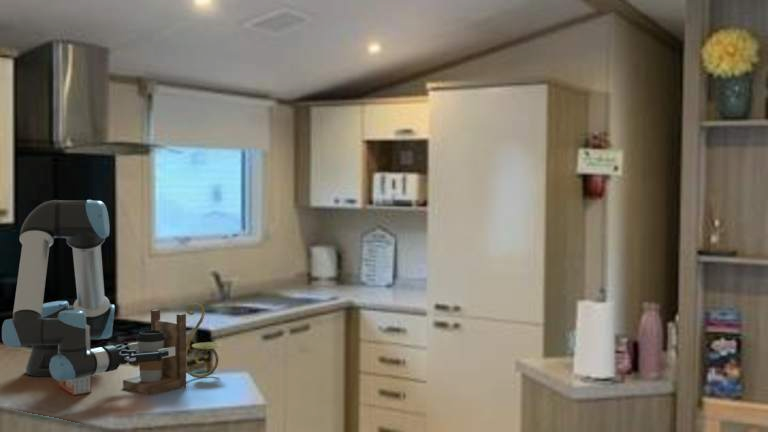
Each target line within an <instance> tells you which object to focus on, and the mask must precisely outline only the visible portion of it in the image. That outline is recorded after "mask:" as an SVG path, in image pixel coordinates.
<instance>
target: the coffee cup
mask: <svg viewBox="0 0 768 432" xmlns="http://www.w3.org/2000/svg"><path fill="white" fill-rule="evenodd" d="M136 339H137V343H138V352H142V351H157V350H159V349H163V348H164V340H165V338H164V335H163V331H158V330H151V329H150V330H142V331H139V333H138V335H137V338H136ZM138 367H139V376H140V379H141V381H142V382H157V381H160V380H161V377H162V367H163V358H162V361H160V362H158V361H151V362H141V363H138Z"/></svg>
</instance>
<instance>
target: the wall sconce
mask: <svg viewBox="0 0 768 432" xmlns="http://www.w3.org/2000/svg"><path fill="white" fill-rule="evenodd" d="M195 306H197V307H199V308H200V310H201V316H200V318H199V320H198V322H197V324H196V325H195V326H194V328H193V330H192V331H191V333H190V334H189V337H188V339H187V340H186V374H188V375H190V376H191V377H193V378H198V379H202V378H206V377H208V376H210V375H211V374H213V373H214V372H215V371H216V369H217V367H218V365H219V355H218V353H217V351H216V349H217V348H220V347H221V346H222V344H221V343H219V342H215V341H214V342H213V341H206V342H197V343H193V344H191V347H192V348H193V349H197V351H196V353H195V355H194V361H195V363H196V364H197V365H198V364H200V365H201V364H203V363H205V360H206V359H209V356H210V354H208V352H212V353H213V354H214V357H215V363H214V366H213V367H212V368H211V370H210V371H208V372H207V373H203V374H195V373H193V372H191V371H190V369H189V366H188V363H187V361H189V359H190V358H189V356H188V350H189V347H190V343H191V341H192V338H193V337H194V335H195V333H196V332H197V330H198V329H199V327H200V326H201V324H202V323H203V320H204V318H205V316H206V315H205V314H206V313H205V308H204V306H203V305H202V304H201V303H199V302H192V303H190V304H189V305H187V308H186V313H187V314H188V315H189V316H193V315H195V313H196V312H195V310H193V311H190V309H191V308H192V307H195ZM201 353H205V354H202V355H203V358H204V360H199V358H198V357H199V355H200V354H201Z"/></svg>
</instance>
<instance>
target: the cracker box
mask: <svg viewBox="0 0 768 432" xmlns="http://www.w3.org/2000/svg"><path fill="white" fill-rule="evenodd" d="M88 349H91V340H90V326H89V325H87V350H88ZM58 354H59V345H58ZM58 386H60V388H62V389H64V390H65V391H66V392H67V393H70V394H71V395H72V396H76V395H83V394H91V393H92V375H89V376H85V377H81V378H76V379H73V380H65V381H58Z"/></svg>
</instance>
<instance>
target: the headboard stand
mask: <svg viewBox="0 0 768 432" xmlns="http://www.w3.org/2000/svg"><path fill="white" fill-rule="evenodd" d="M150 330H158V331H163V335H164V338H165V340H164V348H169V347H173V346H174V347H175V356H170V357H165V358H163V367H162V377H161V380H160V381H157V382H142V381H141V379H140V375H139V376H134V377H130V378H126V379H122V389H126V388H127V389H126V390H130V389H131V391H134V390H135V391H134V392H138V391H139V393H142V392H143V393H142V394H146V393H147V394H146V395H150V396H154V395H158V394H162V393H165V392H170V391H174V390H177V389H181V388H185V387H187V372H186V344H187V314H186V313H178V314H176V321H172V320H168V319H167V320H166V319H161V310H160V309H151V310H150ZM164 348H163V349H164Z"/></svg>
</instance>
